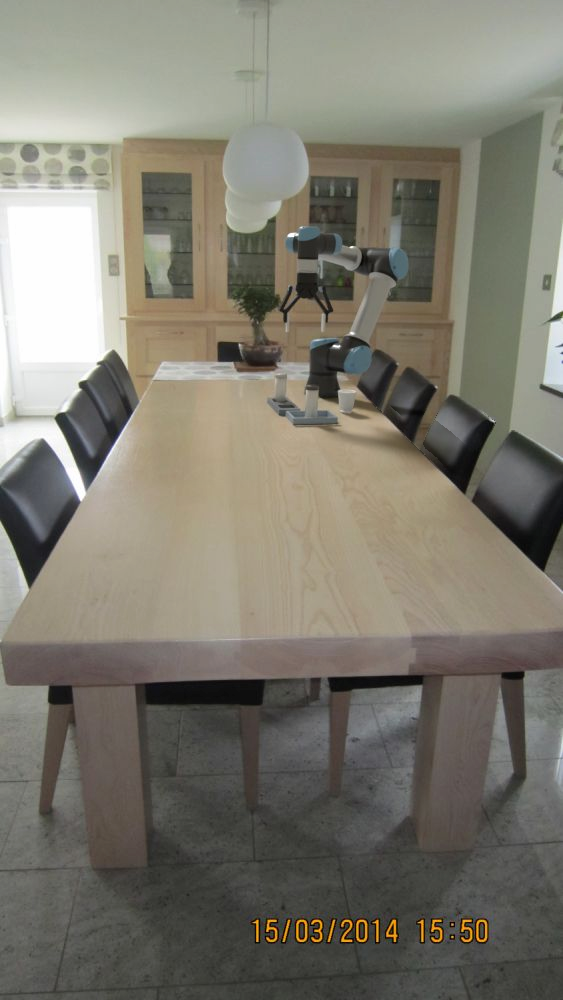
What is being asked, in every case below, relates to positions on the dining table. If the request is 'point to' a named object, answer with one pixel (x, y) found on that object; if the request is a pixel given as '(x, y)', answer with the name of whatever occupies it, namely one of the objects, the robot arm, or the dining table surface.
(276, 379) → the cylinder
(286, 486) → the dining table surface
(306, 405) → the cylinder
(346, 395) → the cup
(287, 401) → the fuse strip
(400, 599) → the dining table surface
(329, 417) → the parts tray
